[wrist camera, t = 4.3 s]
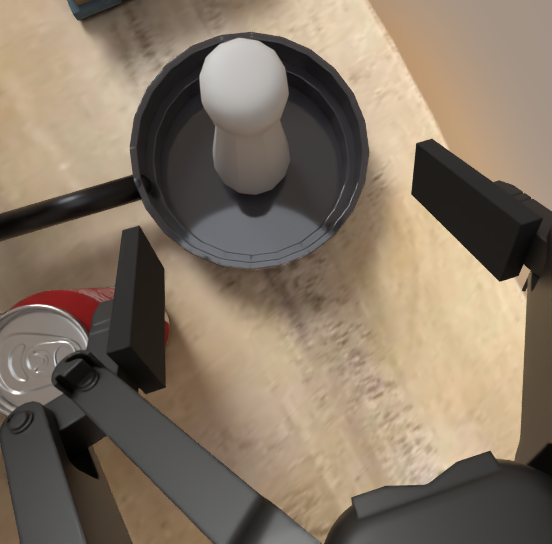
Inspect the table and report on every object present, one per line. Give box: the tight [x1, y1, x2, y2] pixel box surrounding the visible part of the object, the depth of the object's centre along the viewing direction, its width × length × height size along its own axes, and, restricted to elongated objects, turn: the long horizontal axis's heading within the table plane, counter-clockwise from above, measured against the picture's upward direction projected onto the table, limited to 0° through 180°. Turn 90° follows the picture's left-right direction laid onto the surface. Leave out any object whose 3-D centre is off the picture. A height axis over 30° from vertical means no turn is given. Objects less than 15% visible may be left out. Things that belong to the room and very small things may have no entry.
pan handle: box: [0, 174, 153, 241], centre depth 26 cm, size 13×2×2 cm, turn 107°
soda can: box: [0, 287, 170, 416], centre depth 23 cm, size 7×7×12 cm
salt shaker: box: [200, 38, 290, 195], centre depth 22 cm, size 6×6×13 cm
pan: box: [130, 32, 369, 271], centre depth 27 cm, size 17×17×4 cm
